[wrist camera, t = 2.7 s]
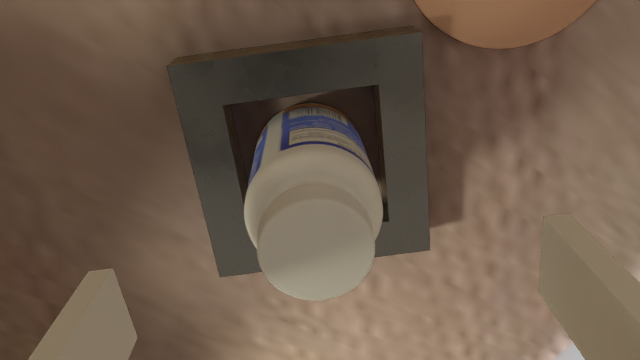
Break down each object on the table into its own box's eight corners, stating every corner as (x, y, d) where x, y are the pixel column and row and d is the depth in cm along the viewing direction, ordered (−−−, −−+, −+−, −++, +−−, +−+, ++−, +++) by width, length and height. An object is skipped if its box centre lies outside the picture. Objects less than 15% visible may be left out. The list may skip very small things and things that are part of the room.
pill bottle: (304, 217, 27) (308, 345, 18) (233, 146, 25) (199, 251, 16) (383, 155, 26) (429, 261, 17) (315, 76, 24) (327, 148, 15)
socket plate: (224, 256, 28) (219, 277, 26) (177, 57, 23) (166, 66, 21) (421, 230, 28) (430, 250, 26) (411, 25, 23) (421, 32, 21)
